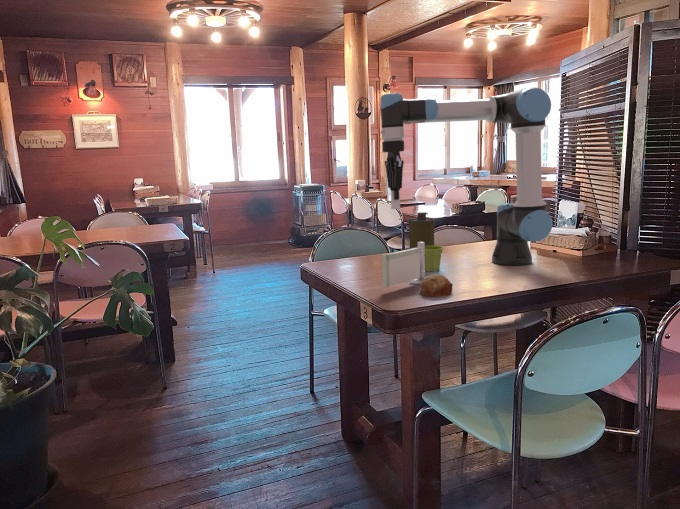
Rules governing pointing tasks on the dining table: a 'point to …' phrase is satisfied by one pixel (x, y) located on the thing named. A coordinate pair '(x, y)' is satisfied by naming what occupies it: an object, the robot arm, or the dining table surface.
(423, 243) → the gate post
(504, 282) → the dining table surface
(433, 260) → the plant pot
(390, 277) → the gate
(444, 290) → the bread roll
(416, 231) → the canister
